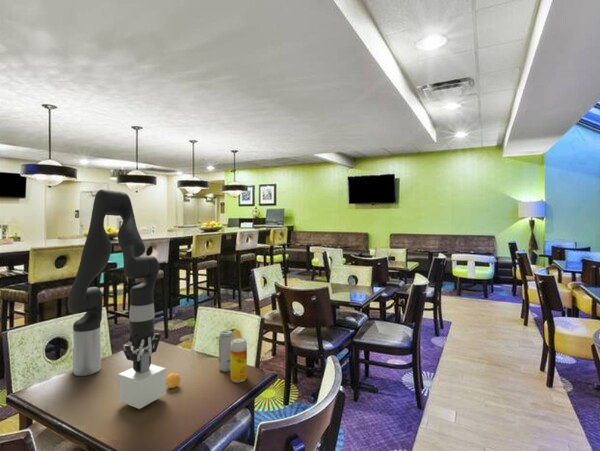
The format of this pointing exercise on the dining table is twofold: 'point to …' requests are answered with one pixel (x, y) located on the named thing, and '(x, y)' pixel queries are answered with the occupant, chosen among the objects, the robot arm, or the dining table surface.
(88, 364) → the robot arm
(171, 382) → the ball
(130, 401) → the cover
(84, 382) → the dining table surface
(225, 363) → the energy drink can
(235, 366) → the yellow white cylinder
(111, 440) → the dining table surface
